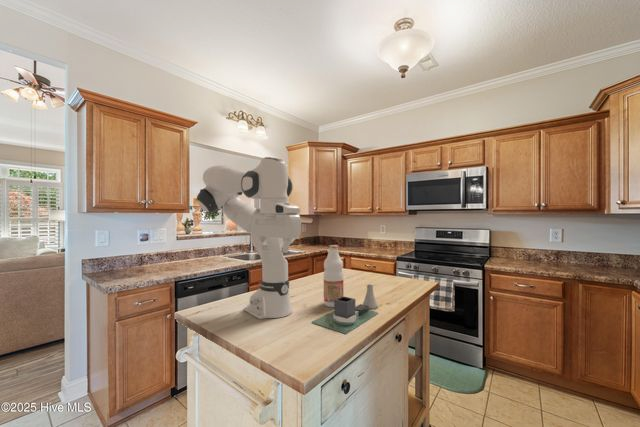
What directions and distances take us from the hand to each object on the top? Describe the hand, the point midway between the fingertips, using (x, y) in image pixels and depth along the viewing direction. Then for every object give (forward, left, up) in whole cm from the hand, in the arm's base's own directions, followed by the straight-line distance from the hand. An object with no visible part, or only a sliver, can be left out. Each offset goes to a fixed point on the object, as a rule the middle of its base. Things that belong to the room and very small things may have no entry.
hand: (274, 251), depth 87 cm
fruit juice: (-10, +46, -31) cm, 57 cm away
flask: (+5, +54, -31) cm, 63 cm away
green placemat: (+4, +35, -31) cm, 47 cm away
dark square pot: (+6, +31, -28) cm, 43 cm away
